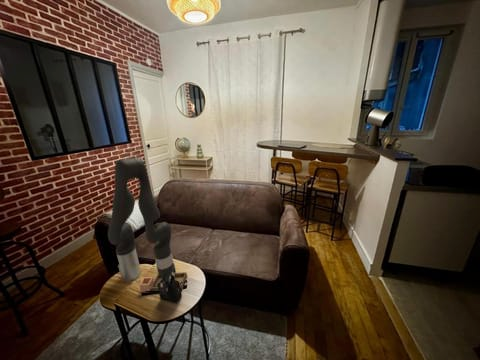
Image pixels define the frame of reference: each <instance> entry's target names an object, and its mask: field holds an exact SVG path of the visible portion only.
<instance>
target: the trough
mask: <svg viewBox="0 0 480 360" xmlns="http://www.w3.org/2000/svg"><path fill="white" fill-rule="evenodd" d="M174 274H175V276H174V277H175V280H176V281H179V283H181V282H182V283H181V285H180V288H181V292H183V289H184V286H185V283H186V280H187V278H188V273H187V272H186V271H185V272H176V273H174ZM161 279H162V277H161V276H160V275H159V274H158V273H157V275H156V276H155V279H153V280H154V282H153V284H152V286H151V288H150V290H151V291H159V290H158V287H157V286H158V285H157V284H158V283H159V282H160V281H161ZM184 282H185V283H184ZM183 285H184V286H183ZM155 286H156V287H155Z"/></svg>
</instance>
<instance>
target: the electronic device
mask: <svg viewBox="0 0 480 360" xmlns="http://www.w3.org/2000/svg"><path fill="white" fill-rule="evenodd" d="M161 282H162V279H161V281H160V282H159V283H161ZM159 283H158V284H157V285H158V290H159V292H158V294H159V299H160V300H162V301H165V302H169V303H173V304H178V303H179V302H180V300H181V298H182V291H181V288H180V283H179V281H176V280H172V279H170V286H169V288H168V290H169V295H170V296H169V298H165V297H164V294H160V288H159ZM165 284H168V283H165ZM166 289H167V287H166Z"/></svg>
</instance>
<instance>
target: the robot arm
mask: <svg viewBox="0 0 480 360" xmlns="http://www.w3.org/2000/svg"><path fill="white" fill-rule="evenodd" d="M147 171H148V170H147V168H146V165H145V163H144V161H143V160H142V159H141V158H139V157H131V158H123V159H119V160H117V161H116V163H115V165H114V193H113V201H112V209H111V211H112V213H111V217H110V218H111V219H110V223H109V225H108V230H107V239H108V241H109V243H110V244H112V245H117V246H116V249H115V252H116V253H115V254H116V256H117V260H118V263H119V264H118V265H117V268H118V270H119V274H120V278H121V280H124V281H126V282H130V281H133V280H135V279H138V278H139V276H140V275H141V273H142V270H141V266H140V262H139V261H140V260H139V258H138V253H137V250H136V240H135V239H136V238H135V233H134V229H133V227H132V225H131V224H130V222H129V223H128V222H127V221H128V220H129V218H130V217H131V215H132V214H133V212H134V209H135V204H136V198H135V196H134V194H133V193H132V192H131V190H129V189H128V182H129V180H133V179H137V180H138V182H139V186H140V187H139V194H138V199H137V200H138V201H137V203H138V204H137V205H138V209H139V211H140V214H141V217H142V218H143V222H144V228H145V229H144V230H145V237H146V240H147V242H148V243H151V244H155V245H154V246H153V252H154V258H155V266H156V271H157V275H158V274H159V275H160V276H161V277H162V282H161V283H159V288H160V294H164V297H165V298H169V296H170V295H169V290H168V288H169V286H170V279H172V280H175V277H174V276H175V274H174V273H177V272H176V266H175V263H174V259H173V258H174V257H173V254H172V250H171V239H172V238H171V237H172V227H171V225H170V224H169V223H168V222H166V221H163V222H160V223H158V224H156V225H154V222H155V221H156V220H158V219H159V218H160V217H161V213H160V210H159V208H158V205H157V203H156V201H155V199H154V195H153V192H152V187H151V183H150V179H149V175H148V172H147ZM165 283H168V284H165ZM166 287H167V289H166Z"/></svg>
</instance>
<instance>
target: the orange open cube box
mask: <svg viewBox="0 0 480 360" xmlns="http://www.w3.org/2000/svg"><path fill="white" fill-rule="evenodd" d="M154 280H155V279H154V277H153V276H148V277H147V276H146V277H142V279H141V282H140V283H139V290H140V292H141V293H146V292H145V291H150V288H151V286H152V284H153V282H154Z"/></svg>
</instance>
